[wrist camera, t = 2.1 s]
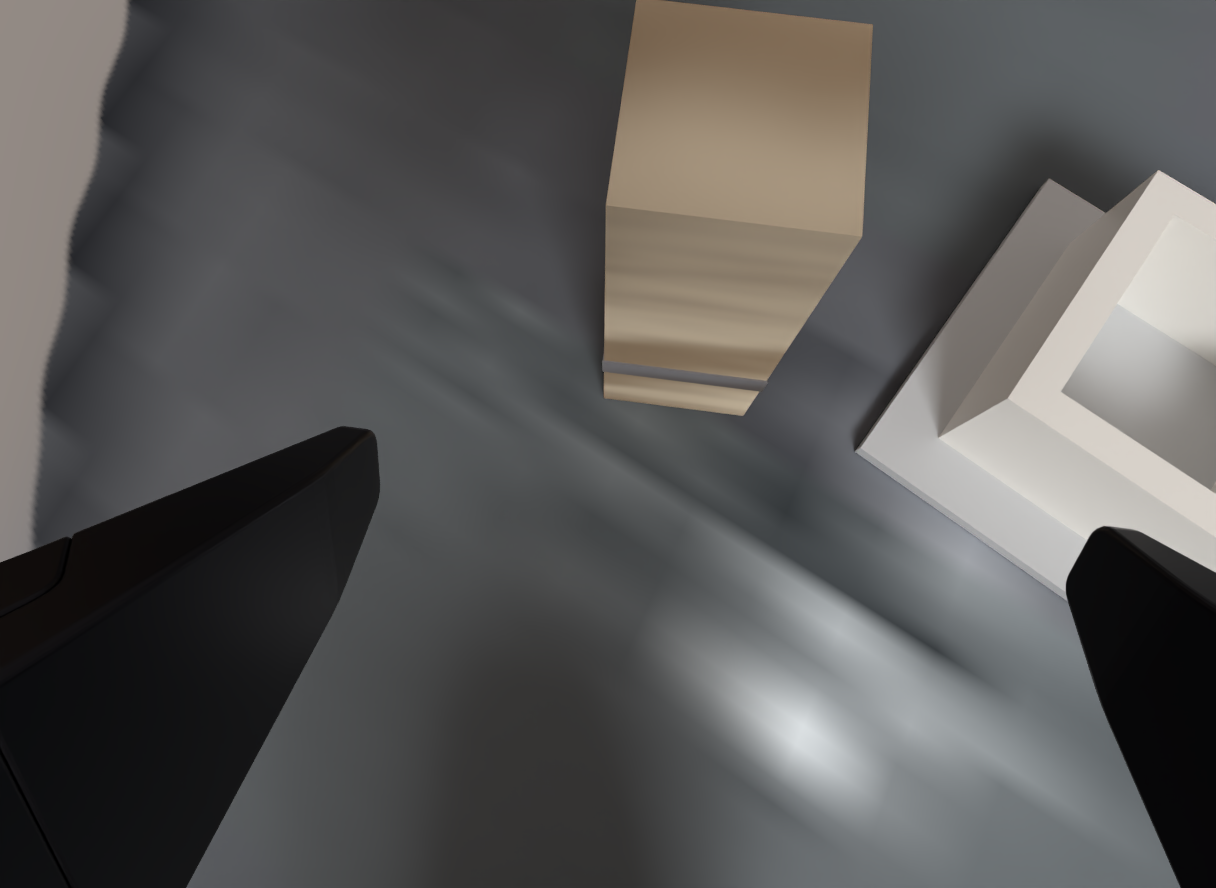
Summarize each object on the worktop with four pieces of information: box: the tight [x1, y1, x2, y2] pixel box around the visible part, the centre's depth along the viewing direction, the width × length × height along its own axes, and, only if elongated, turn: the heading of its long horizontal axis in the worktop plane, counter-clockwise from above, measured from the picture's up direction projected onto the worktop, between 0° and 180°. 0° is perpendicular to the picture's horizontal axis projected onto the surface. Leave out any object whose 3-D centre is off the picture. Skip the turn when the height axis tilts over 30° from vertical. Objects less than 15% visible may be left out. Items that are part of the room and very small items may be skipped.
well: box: [855, 170, 1216, 601], centre depth 21 cm, size 12×12×4 cm
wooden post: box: [602, 0, 873, 416], centre depth 19 cm, size 5×5×11 cm
